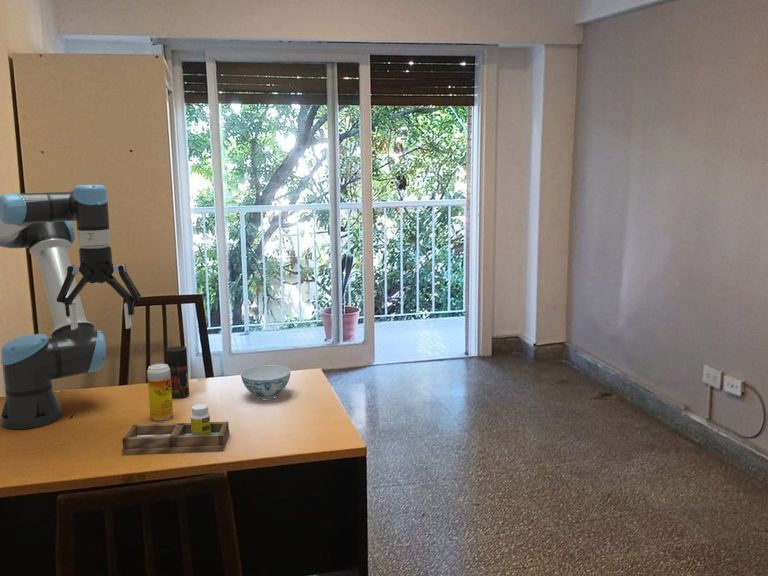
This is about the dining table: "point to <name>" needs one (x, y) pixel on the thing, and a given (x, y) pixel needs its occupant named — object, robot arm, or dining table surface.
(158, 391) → the yellow canister
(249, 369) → the chinaware
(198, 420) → the supplement bottle
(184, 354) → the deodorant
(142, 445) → the divided tray
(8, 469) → the dining table surface
